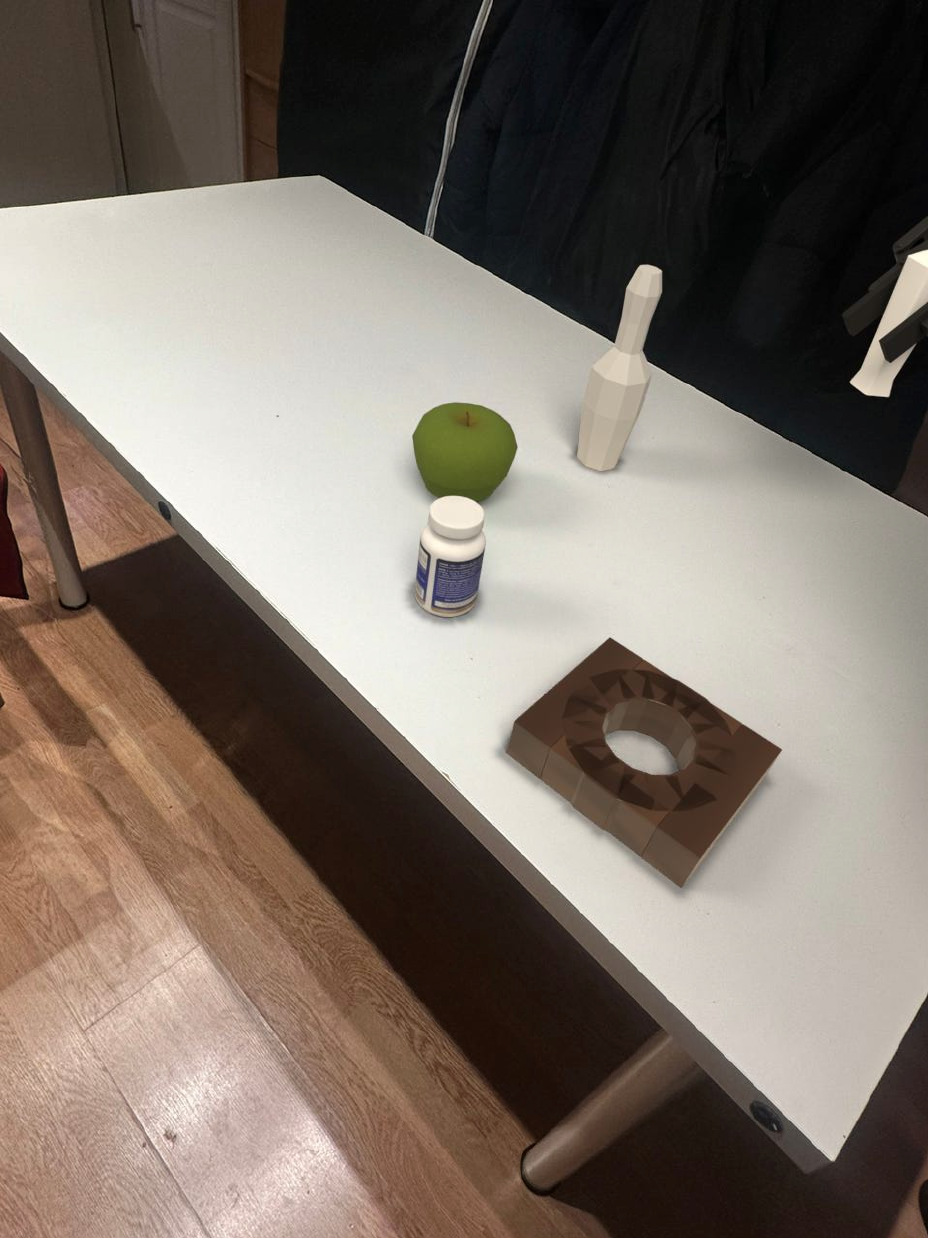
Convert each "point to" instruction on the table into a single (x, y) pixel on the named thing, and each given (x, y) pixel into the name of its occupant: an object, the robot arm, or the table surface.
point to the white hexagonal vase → (917, 285)
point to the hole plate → (629, 798)
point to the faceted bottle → (619, 377)
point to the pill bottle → (450, 556)
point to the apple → (463, 450)
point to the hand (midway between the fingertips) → (866, 338)
